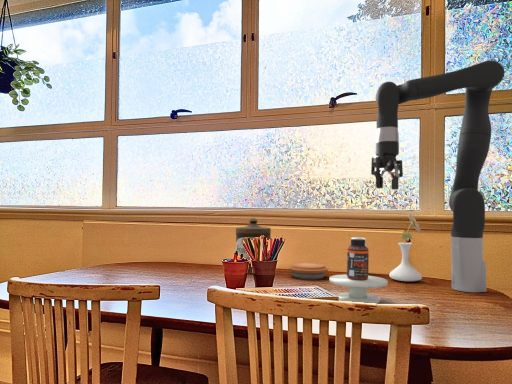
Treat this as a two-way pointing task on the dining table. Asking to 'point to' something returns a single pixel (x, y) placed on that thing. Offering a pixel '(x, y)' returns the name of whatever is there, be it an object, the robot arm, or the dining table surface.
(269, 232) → the grey lidded jar
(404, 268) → the flower in vase
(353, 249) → the supplement bottle
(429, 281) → the dining table surface
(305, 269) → the pie
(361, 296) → the cake stand
